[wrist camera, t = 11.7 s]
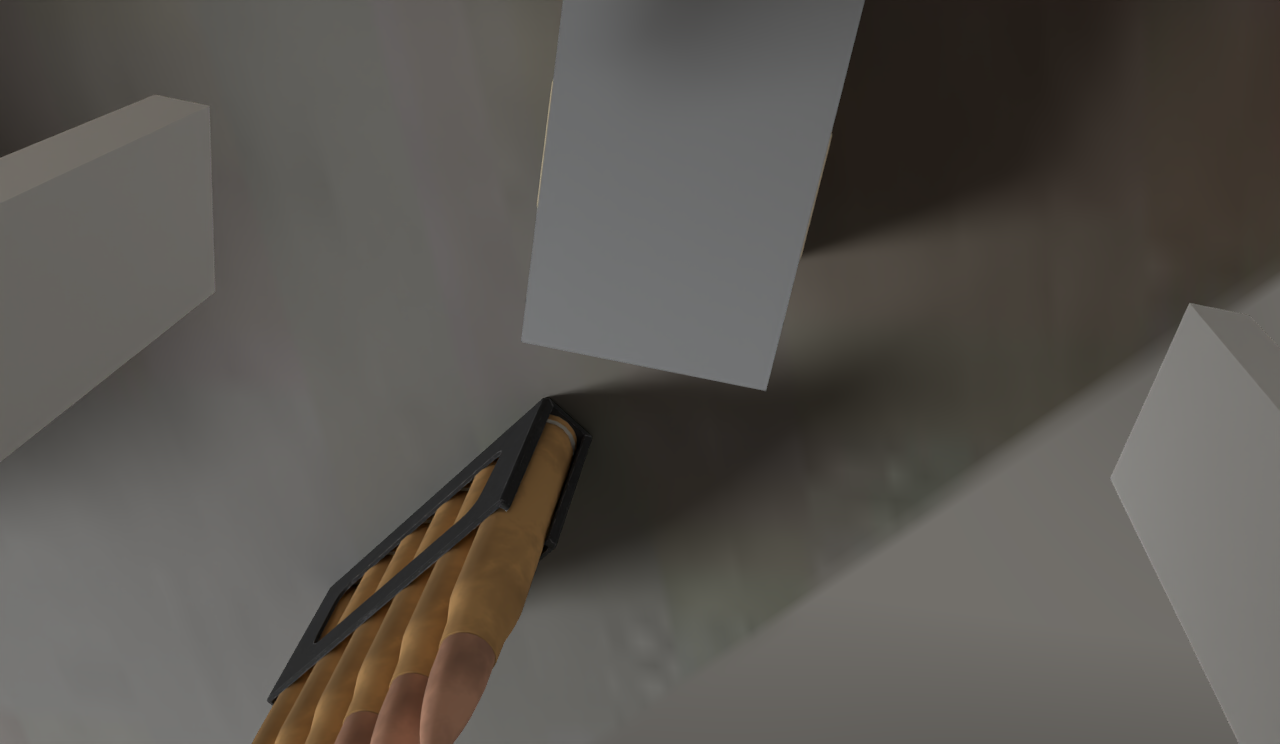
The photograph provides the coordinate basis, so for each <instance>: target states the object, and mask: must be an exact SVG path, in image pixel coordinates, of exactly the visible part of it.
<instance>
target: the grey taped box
mask: <svg viewBox="0 0 1280 744" xmlns="http://www.w3.org/2000/svg"><path fill="white" fill-rule="evenodd" d="M864 2H865V0H563V5H562V13H561V22H560V30H559V38H558V46H557V54H556V62H555V70H554V78H553V80H552V87H551V95H550V103H549V111H548V119H547V127H546V135H545V144H544V152H543V160H542V168H541V176H540V184H539V192H538V201H537V207H538V208H537V216H536V224H535V233H534V241H533V249H532V257H531V265H530V273H529V281H528V289H527V297H526V306H525V314H524V322H523V330H522V338H521V342H524V343H529V344H534V345H539V346H544V347H549V348H554V349H559V350H564V351H569V352H574V353H579V354H584V355H589V356H594V357H599V358H604V359H609V360H614V361H619V362H624V363H629V364H634V365H639V366H644V367H649V368H654V369H659V370H664V371H669V372H674V373H679V374H684V375H689V376H694V377H699V378H704V379H709V380H714V381H719V382H724V383H729V384H734V385H739V386H744V387H749V388H754V389H759V390H764V391H766V389H767V385H768V381H769V377H770V373H771V369H772V365H773V361H774V357H775V353H776V349H777V345H778V342H779V338H780V334H781V330H782V326H783V322H784V318H785V314H786V310H787V306H788V302H789V298H790V294H791V290H792V286H793V282H794V278H795V274H796V270H797V267H798V263H799V259H801V257H802V253H803V249H804V245H805V241H806V237H807V233H808V229H809V225H810V221H811V218H812V214H813V210H814V206H815V202H816V198H817V194H818V190H819V186H820V182H821V178H822V174H823V170H824V166H825V162H826V158H827V155H828V151H829V147H830V143H831V139H832V128H833V124H834V120H835V116H836V113H837V109H838V105H839V101H840V97H841V93H842V89H843V85H844V81H845V77H846V73H847V69H848V65H849V61H850V57H851V53H852V49H853V45H854V41H855V37H856V34H857V30H858V26H859V22H860V18H861V14H862V10H863V6H864Z"/></svg>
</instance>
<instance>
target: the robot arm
mask: <svg viewBox="0 0 1280 744" xmlns="http://www.w3.org/2000/svg"><path fill="white" fill-rule="evenodd" d="M213 293H215V264H214V232H213V200H212V168H211V136H210V106H209V105H204V104H199V103H194V102H189V101H184V100H179V99H174V98H169V97H164V96H159V95H152V96H150V97H148V98H145V99H143V100H140V101H138V102H135V103H133V104H130V105H128V106H126V107H123V108H121V109H118V110H116V111H113V112H111V113H108V114H106V115H104V116H101V117H99V118H96V119H94V120H91V121H89V122H86V123H84V124H82V125H79V126H77V127H74V128H72V129H69V130H67V131H64V132H62V133H60V134H57V135H55V136H52V137H50V138H47V139H45V140H42V141H40V142H38V143H35V144H33V145H30V146H28V147H25V148H23V149H20V150H18V151H16V152H13V153H11V154H8V155H6V156H3V157H1V158H0V462H1V461H2V460H4V459H5V458H6V457H7V456H9V455H10V454H11V453H12V452H14V451H15V450H16V449H17V448H19V447H20V446H21V445H23V444H24V443H25V442H26V441H28V440H29V439H30V438H31V437H33V436H34V435H35V434H36V433H38V432H39V431H40V430H41V429H43V428H44V427H45V426H47V425H48V424H49V423H50V422H52V421H53V420H54V419H55V418H57V417H58V416H59V415H60V414H62V413H63V412H64V411H65V410H67V409H68V408H69V407H71V406H72V405H73V404H74V403H76V402H77V401H78V400H79V399H81V398H82V397H83V396H84V395H86V394H87V393H88V392H89V391H91V390H92V389H93V388H95V387H96V386H97V385H98V384H100V383H101V382H102V381H103V380H105V379H106V378H107V377H108V376H110V375H111V374H112V373H113V372H115V371H116V370H117V369H119V368H120V367H121V366H122V365H124V364H125V363H126V362H127V361H129V360H130V359H131V358H132V357H134V356H135V355H136V354H137V353H139V352H140V351H141V350H143V349H144V348H145V347H146V346H148V345H149V344H150V343H151V342H153V341H154V340H155V339H156V338H158V337H159V336H160V335H161V334H163V333H164V332H165V331H167V330H168V329H169V328H170V327H172V326H173V325H174V324H175V323H177V322H178V321H179V320H180V319H182V318H183V317H184V316H185V315H187V314H188V313H189V312H191V311H192V310H193V309H194V308H196V307H197V306H198V305H199V304H201V303H202V302H203V301H204V300H206V299H207V298H208V297H209V296H211V295H212V294H213ZM1110 480H1111V482H1112V484H1113V486H1114V488H1115V490H1116V492H1117V494H1118V496H1119V498H1120V500H1121V502H1122V504H1123V506H1124V509H1125V510H1126V513H1127V515H1128V516H1129V519H1130V521H1131V523H1132V525H1133V527H1134V529H1135V531H1136V533H1137V535H1138V537H1139V539H1140V541H1141V543H1142V546H1143V548H1144V550H1145V552H1146V554H1147V556H1148V558H1149V560H1150V562H1151V564H1152V566H1153V568H1154V570H1155V572H1156V574H1157V576H1158V578H1159V580H1160V582H1161V585H1162V587H1163V589H1164V591H1165V593H1166V595H1167V597H1168V599H1169V601H1170V603H1171V605H1172V607H1173V609H1174V611H1175V613H1176V615H1177V617H1178V620H1179V622H1180V624H1181V626H1182V628H1183V630H1184V632H1185V634H1186V636H1187V638H1188V640H1189V642H1190V644H1191V646H1192V648H1193V650H1194V652H1195V655H1196V656H1197V659H1198V661H1199V663H1200V665H1201V667H1202V669H1203V671H1204V673H1205V675H1206V677H1207V679H1208V681H1209V683H1210V685H1211V687H1212V689H1213V692H1214V694H1215V696H1216V698H1217V700H1218V702H1219V704H1220V706H1221V708H1222V710H1223V712H1224V714H1225V716H1226V718H1227V720H1228V722H1229V725H1230V727H1231V729H1232V730H1233V733H1234V735H1235V737H1236V739H1237V741H1238V743H1239V744H1280V347H1279V346H1278V345H1277V344H1276V343H1275V342H1274V341H1273V340H1272V339H1271V338H1270V337H1269V336H1268V335H1267V334H1266V332H1265V331H1263V329H1262V328H1261V327H1260V326H1259V325H1258V324H1257V323H1256V322H1255V321H1254V320H1253V319H1252V318H1251V317H1250V315H1247V314H1242V313H1237V312H1232V311H1227V310H1222V309H1217V308H1212V307H1207V306H1202V305H1197V304H1192V303H1189V305H1188V307H1187V310H1186V312H1185V314H1184V316H1183V318H1182V321H1181V323H1180V325H1179V327H1178V329H1177V332H1176V334H1175V336H1174V338H1173V340H1172V343H1171V345H1170V347H1169V349H1168V351H1167V354H1166V356H1165V358H1164V360H1163V363H1162V365H1161V367H1160V369H1159V371H1158V374H1157V376H1156V378H1155V380H1154V382H1153V385H1152V387H1151V389H1150V391H1149V394H1148V396H1147V398H1146V400H1145V402H1144V404H1143V407H1142V409H1141V411H1140V413H1139V416H1138V418H1137V420H1136V422H1135V424H1134V427H1133V429H1132V431H1131V433H1130V435H1129V438H1128V440H1127V442H1126V444H1125V446H1124V449H1123V451H1122V453H1121V455H1120V458H1119V460H1118V462H1117V464H1116V466H1115V468H1114V471H1113V473H1112V475H1111V477H1110Z"/></svg>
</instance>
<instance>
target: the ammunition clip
mask: <svg viewBox="0 0 1280 744" xmlns="http://www.w3.org/2000/svg"><path fill="white" fill-rule="evenodd" d="M591 440H592V436H591V435H590V434H589V433H587V432H586V431H585V430H584V429H583V428H582V427H581V426H580V425H579V424H577V423H576V422H575V421H574V420H573V419H572V418H571V417H570V416H568V415H567V414H566V413H565V412H564V411H563V410H562V409H561V408H560V407H558V406H557V405H556V404H555V403H554V402H553V401H552V400H551V399H550V398H543V399H542V400H541V401H539V402H538V403H537V404H536V405H535V406H534V407H533V408H532V409H531V410H529V411H528V412H527V413H526V414H525V415H524V416H523V417H522V418H520V419H519V420H518V421H517V422H516V423H515V424H514V425H513V426H511V427H510V428H509V429H508V430H507V431H506V432H505V433H504V434H502V435H501V436H500V437H499V438H498V439H497V440H496V441H495V442H493V443H492V444H491V445H490V446H489V447H488V448H487V449H486V450H485V451H483V452H482V453H481V454H480V455H479V456H478V457H477V458H476V459H474V460H473V461H472V462H471V463H470V464H469V465H468V466H467V467H465V468H464V469H463V470H462V471H461V472H460V473H459V474H458V475H456V476H455V477H454V478H453V479H452V480H451V481H450V482H449V483H447V484H446V485H445V486H444V487H443V488H442V489H441V490H440V491H439V492H437V493H436V494H435V495H434V496H433V497H432V498H431V499H430V500H428V501H427V502H426V503H425V504H424V505H423V506H422V507H421V508H419V509H418V510H417V511H416V512H415V513H414V514H413V515H412V516H410V517H409V518H408V519H407V520H406V521H405V522H404V523H403V524H401V525H400V526H399V527H398V528H397V529H396V530H395V531H394V532H393V533H391V534H390V535H389V536H388V537H387V538H386V539H385V540H384V541H382V542H381V543H380V544H379V545H378V546H377V547H376V548H375V549H373V550H372V551H371V552H370V553H369V554H368V555H367V556H366V557H364V558H363V559H362V560H361V561H360V562H359V563H358V564H357V565H355V566H354V567H353V568H352V569H351V570H350V571H349V572H348V573H347V574H345V575H344V576H343V577H342V578H341V579H340V580H339V581H338V582H336V583H335V584H334V585H333V586H332V587H331V588H330V589H329V591H328V593H327V595H326V596H325V598H324V600H323V602H322V603H321V605H320V607H319V609H318V610H317V612H316V614H315V616H314V618H313V619H312V621H311V623H310V625H309V626H308V628H307V630H306V632H305V633H304V635H303V637H302V639H301V640H300V642H299V644H298V646H297V648H296V649H295V651H294V653H293V655H292V656H291V658H290V660H289V662H288V663H287V665H286V667H285V669H284V671H283V672H282V674H281V676H280V678H279V679H278V681H277V683H276V685H275V686H274V688H273V690H272V692H271V693H270V695H269V697H268V699H267V701H268V702H269V703H270V704H271V705H273V707H272V708H271V710H270V712H269V714H268V716H267V717H266V719H265V721H264V723H263V724H262V726H261V728H260V730H259V731H258V733H257V735H256V737H255V739H254V740H253V742H252V744H453V743H454V741H455V740H456V739H457V737H458V736H459V735H460V733H461V732H462V730H463V729H464V727H465V726H466V724H467V723H468V721H469V719H470V717H471V716H472V714H473V712H474V710H475V708H476V706H477V704H478V702H479V700H480V698H481V696H482V694H483V692H484V690H485V687H486V685H487V682H488V679H489V677H490V674H491V671H492V669H493V667H494V665H495V663H496V661H497V659H498V656H499V654H500V652H501V649H502V647H503V644H504V642H505V640H506V639H507V637H508V636H509V634H510V633H511V631H512V630H513V628H514V627H515V625H516V623H517V621H518V619H519V617H520V615H521V612H522V610H523V607H524V604H525V601H526V598H527V595H528V592H529V589H530V586H531V583H532V580H533V577H534V574H535V571H536V568H537V565H538V562H539V561H540V560H541V559H542V558H543V557H545V556H546V555H547V554H548V553H550V552H551V551H552V550H553V549H555V547H556V545H557V542H558V539H559V536H560V533H561V530H562V527H563V524H564V521H565V518H566V515H567V512H568V509H569V506H570V503H571V500H572V497H573V494H574V491H575V488H576V485H577V482H578V479H579V476H580V473H581V470H582V467H583V464H584V461H585V458H586V455H587V452H588V449H589V446H590V443H591Z"/></svg>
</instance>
